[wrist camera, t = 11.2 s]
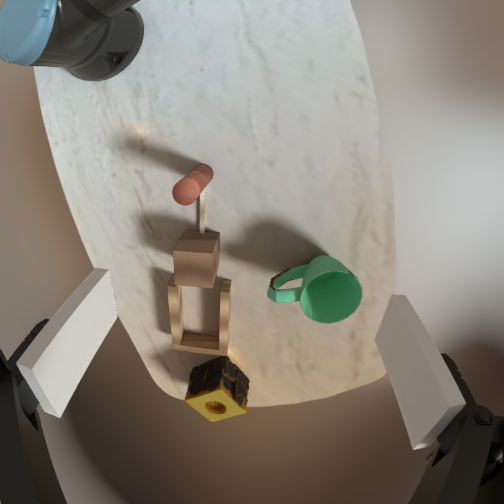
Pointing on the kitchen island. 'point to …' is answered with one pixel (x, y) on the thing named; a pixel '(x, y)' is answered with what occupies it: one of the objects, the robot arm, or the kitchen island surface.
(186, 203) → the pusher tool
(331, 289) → the mug
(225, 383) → the toy block
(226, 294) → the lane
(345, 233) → the kitchen island surface
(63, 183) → the kitchen island surface
